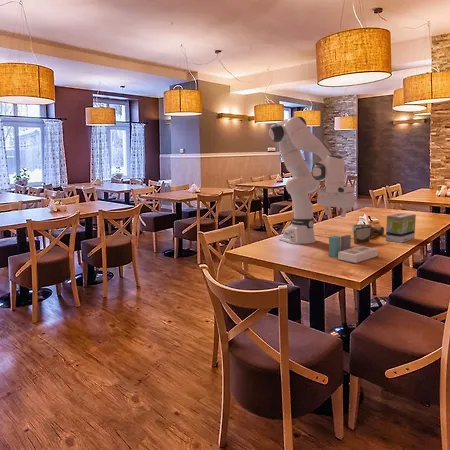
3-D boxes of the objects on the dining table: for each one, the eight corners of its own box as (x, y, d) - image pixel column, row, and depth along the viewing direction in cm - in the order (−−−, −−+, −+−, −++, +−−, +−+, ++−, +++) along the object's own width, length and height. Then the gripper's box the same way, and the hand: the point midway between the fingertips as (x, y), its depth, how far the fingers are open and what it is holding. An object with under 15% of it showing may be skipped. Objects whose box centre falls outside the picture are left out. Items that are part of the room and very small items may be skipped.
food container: (363, 240, 243) (363, 223, 241) (371, 241, 238) (371, 224, 236) (347, 242, 238) (347, 225, 236) (354, 244, 232) (355, 227, 230)
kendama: (358, 238, 249) (371, 232, 264) (374, 241, 243) (386, 234, 258) (358, 229, 248) (371, 223, 263) (375, 231, 242) (386, 224, 257)
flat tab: (340, 253, 215) (340, 236, 213) (347, 251, 218) (347, 234, 216) (343, 254, 213) (344, 237, 212) (350, 252, 216) (350, 235, 215)
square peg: (328, 256, 210) (329, 236, 209) (333, 254, 213) (334, 235, 211) (335, 257, 207) (335, 237, 206) (340, 256, 210) (340, 236, 208)
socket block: (338, 260, 202) (338, 252, 202) (360, 253, 213) (360, 245, 213) (355, 263, 195) (356, 255, 194) (377, 256, 205) (377, 248, 205)
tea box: (402, 243, 231) (402, 217, 229) (385, 240, 239) (385, 215, 237) (415, 238, 241) (416, 213, 238) (398, 236, 248) (399, 212, 246)
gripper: (314, 187, 210) (314, 214, 213) (348, 189, 194) (348, 218, 197) (322, 186, 214) (322, 213, 216) (356, 188, 198) (356, 216, 201)
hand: (335, 215), depth 206 cm, fingers open, 8 cm apart
